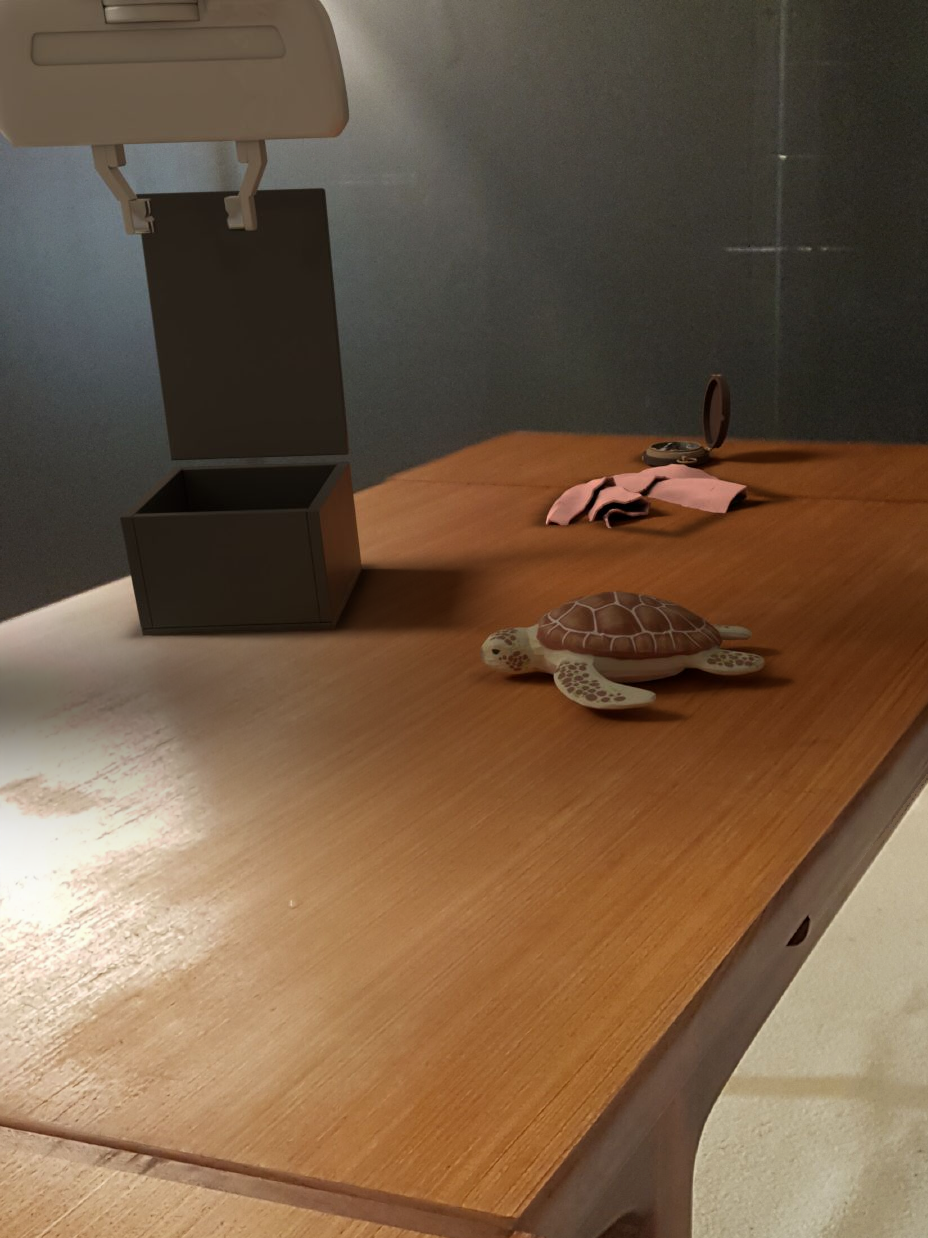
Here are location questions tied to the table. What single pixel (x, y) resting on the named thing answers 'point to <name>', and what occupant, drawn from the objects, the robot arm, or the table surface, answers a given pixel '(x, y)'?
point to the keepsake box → (244, 548)
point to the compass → (713, 430)
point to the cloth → (647, 493)
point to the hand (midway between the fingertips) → (192, 231)
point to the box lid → (246, 326)
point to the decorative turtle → (617, 647)
